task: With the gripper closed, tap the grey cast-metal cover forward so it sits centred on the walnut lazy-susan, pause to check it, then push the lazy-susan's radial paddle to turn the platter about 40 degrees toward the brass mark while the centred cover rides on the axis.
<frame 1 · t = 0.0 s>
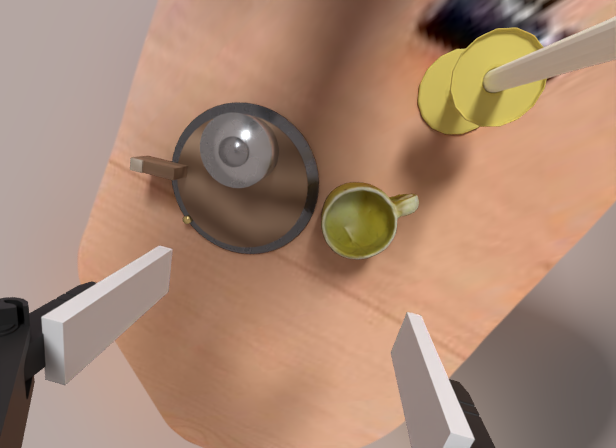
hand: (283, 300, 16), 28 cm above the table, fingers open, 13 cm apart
platter: (221, 182, 40), point 3 cm above the table, hinge at 0.0°, touching cover
candle: (458, 93, 37), on the table
mug: (365, 206, 42), on the table
susan base: (244, 183, 43), on the table
cover: (246, 149, 40), point 2 cm above the table, touching platter
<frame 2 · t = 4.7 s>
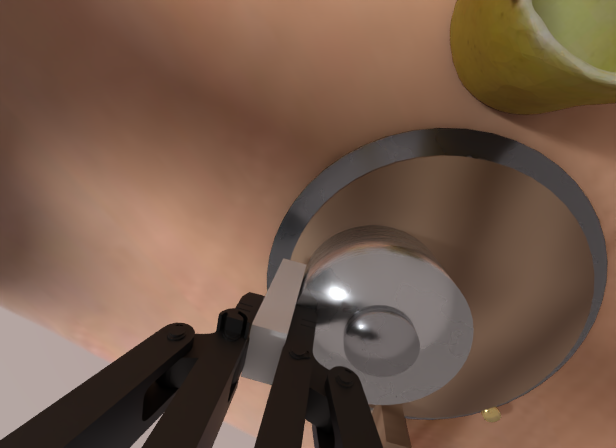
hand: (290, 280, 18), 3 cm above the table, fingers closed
platter: (422, 349, 18), point 3 cm above the table, hinge at 0.0°
susan base: (421, 292, 21), on the table
cover: (370, 290, 19), point 2 cm above the table, touching gripper
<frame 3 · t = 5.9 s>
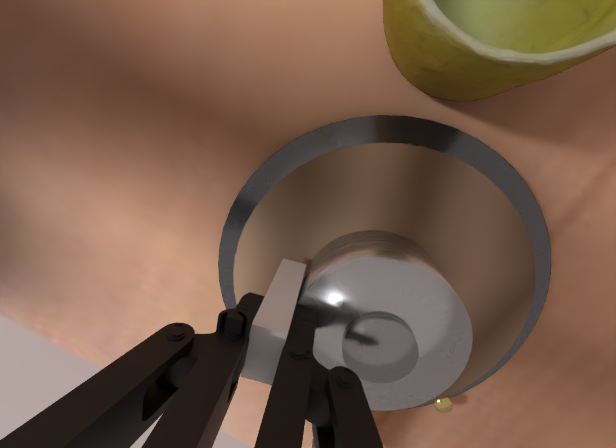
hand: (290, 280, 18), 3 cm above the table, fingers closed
platter: (366, 337, 18), point 3 cm above the table, hinge at 0.0°, touching cover
susan base: (372, 281, 21), on the table
cover: (370, 295, 19), point 2 cm above the table, touching gripper, platter
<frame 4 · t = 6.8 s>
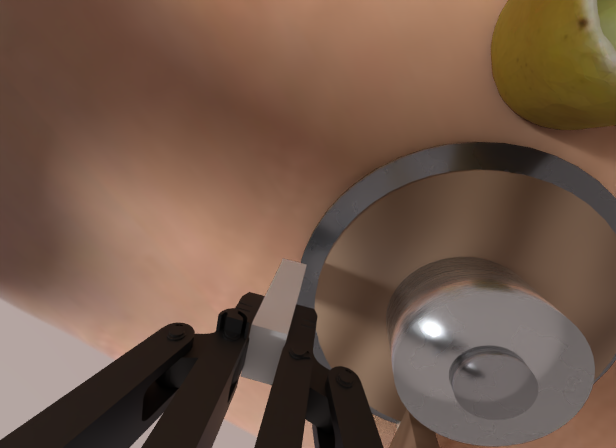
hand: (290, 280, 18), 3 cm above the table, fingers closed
platter: (456, 364, 18), point 3 cm above the table, hinge at 0.0°, touching cover
mug: (563, 7, 15), on the table
susan base: (452, 305, 20), on the table
cover: (458, 322, 19), point 2 cm above the table, touching platter
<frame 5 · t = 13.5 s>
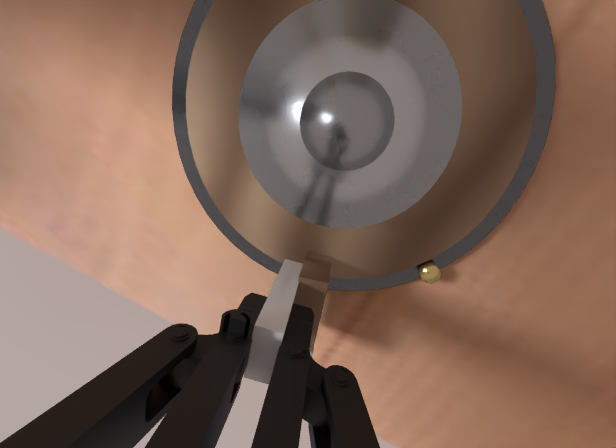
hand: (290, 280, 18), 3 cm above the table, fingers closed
platter: (338, 167, 16), point 3 cm above the table, hinge at 2.6°, touching cover, gripper
susan base: (347, 125, 18), on the table
cover: (343, 125, 16), point 2 cm above the table, touching platter
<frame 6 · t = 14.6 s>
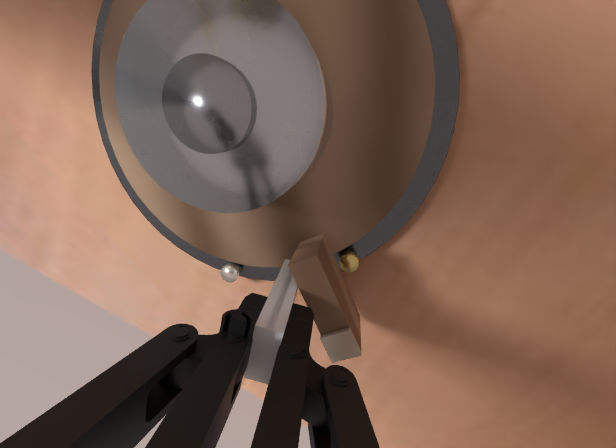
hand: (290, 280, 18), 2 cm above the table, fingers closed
platter: (264, 149, 15), point 3 cm above the table, hinge at 37.3°, touching cover, gripper
susan base: (263, 112, 18), on the table
cover: (251, 113, 16), point 2 cm above the table, touching platter
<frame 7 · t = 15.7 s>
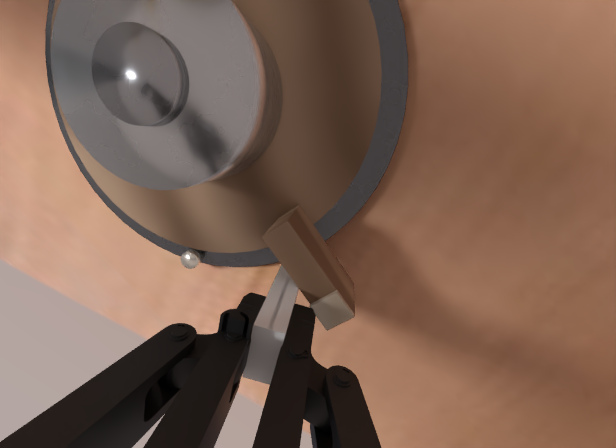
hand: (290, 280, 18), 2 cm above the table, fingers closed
platter: (219, 127, 15), point 3 cm above the table, hinge at 47.9°, touching cover, gripper
susan base: (219, 97, 18), on the table
cover: (203, 96, 16), point 2 cm above the table, touching platter
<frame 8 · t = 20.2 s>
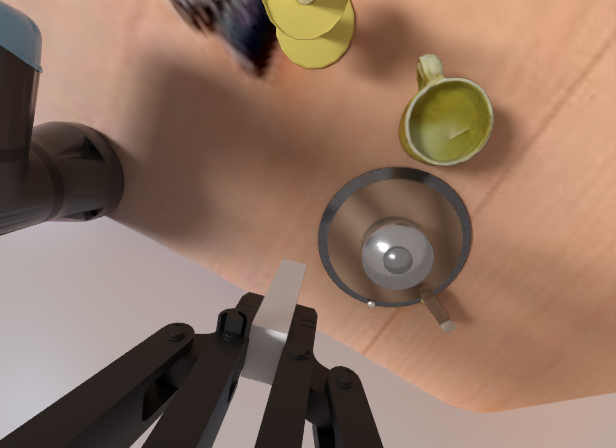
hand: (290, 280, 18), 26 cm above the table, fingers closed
platter: (403, 261, 41), point 3 cm above the table, hinge at 49.9°, touching cover
candle: (314, 26, 37), on the table
mug: (426, 115, 39), on the table
susan base: (391, 240, 44), on the table
cover: (392, 246, 42), point 2 cm above the table, touching platter
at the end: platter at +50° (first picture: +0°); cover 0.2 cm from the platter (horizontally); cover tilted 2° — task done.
